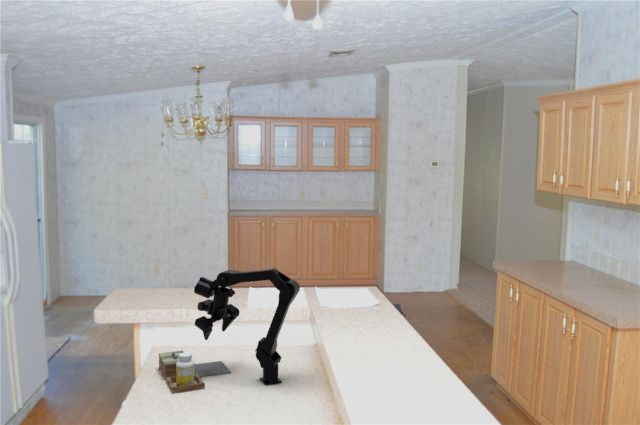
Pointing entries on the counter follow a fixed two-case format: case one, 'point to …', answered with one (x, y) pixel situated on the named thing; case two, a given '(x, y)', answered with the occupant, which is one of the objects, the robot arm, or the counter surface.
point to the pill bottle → (185, 369)
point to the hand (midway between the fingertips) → (214, 335)
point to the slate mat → (211, 369)
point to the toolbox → (169, 373)
